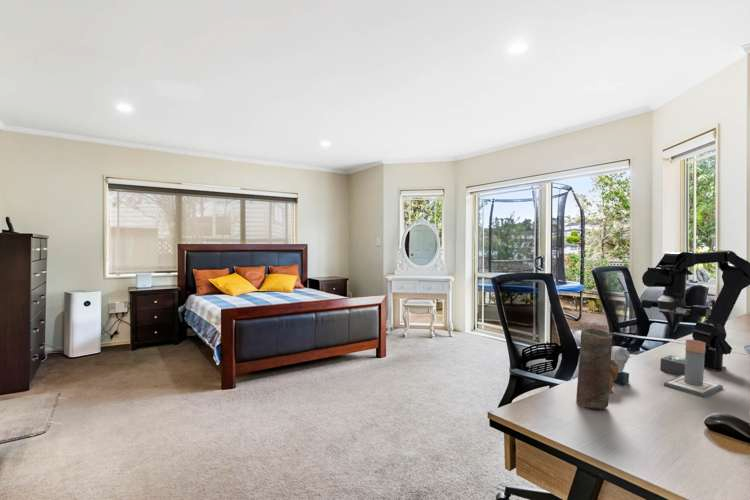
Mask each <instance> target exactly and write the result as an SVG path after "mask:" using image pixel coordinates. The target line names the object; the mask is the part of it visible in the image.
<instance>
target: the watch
mask: <svg viewBox="0 0 750 500" xmlns="http://www.w3.org/2000/svg"><path fill="white" fill-rule="evenodd" d="M630 356H631V355H630V352H629V351H628V350H627V349H626V348H624V347H623V346H618V345H617V346H616V345H612V350H611V359H612V360H614V361H615V362H616V363H617V365H618V375H617V378H616V380H614V381H613V384H615V385H618V386H622V387H624V386H626V385H627V384H629V383H630V372H627V371H626V372H625V371H624V370H625V367H626V366H625V365H626V364H627V363H628V361H629V358H630Z"/></svg>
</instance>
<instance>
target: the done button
mask: <svg viewBox="0 0 750 500" xmlns="http://www.w3.org/2000/svg"><path fill="white" fill-rule="evenodd" d="M671 360H674V361H678V362H682V363H685V357H680V356H677V357H672V359H671Z"/></svg>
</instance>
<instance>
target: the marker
mask: <svg viewBox="0 0 750 500" xmlns="http://www.w3.org/2000/svg"><path fill="white" fill-rule="evenodd" d="M705 345H706V343H705V342H702V341H698V340H694V339H686V340H685V349H684V350H685V357H684V358H685V375H684V382H685V383H686V384H689V385H693V386H703V380H704V372H705V368H704V356H705Z"/></svg>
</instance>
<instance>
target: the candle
mask: <svg viewBox="0 0 750 500" xmlns="http://www.w3.org/2000/svg"><path fill="white" fill-rule="evenodd" d="M579 344H580V347H579V358H578V373H577V385H576V386H577V387H576V399H575V402H576V403H578V404H579V405H581V406H582V407H584V408H585V407H586V408H587V407H588V408H589V409H590V408H591V409H595V410H603V409H607V408H608V406H609V399H610V398H609V397H610V392H609V385H610V368H611V350H612V347H613V335H612V334H610V333H608V331H605V330H601V329H597V328H582V329H581V333H580V343H579Z"/></svg>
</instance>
